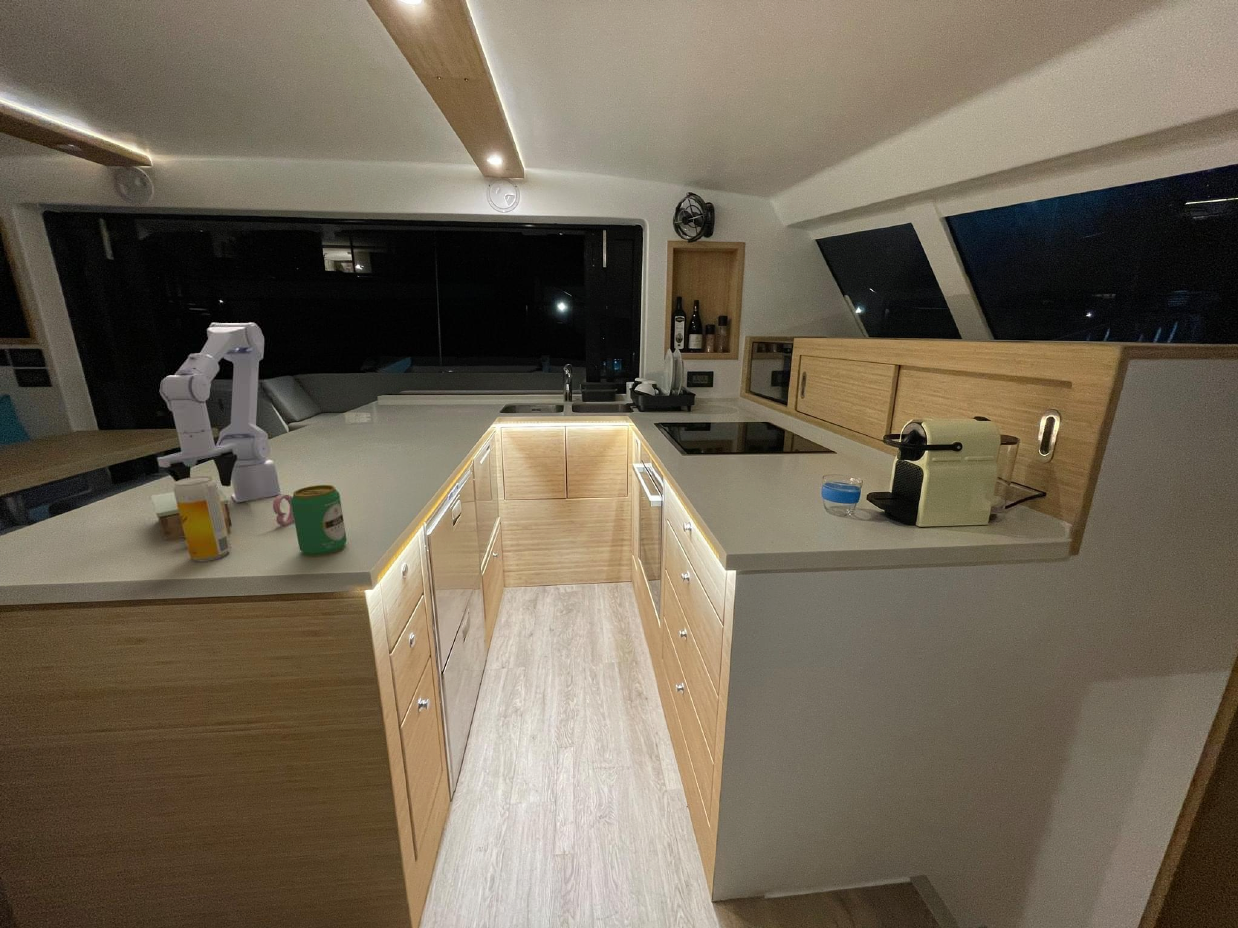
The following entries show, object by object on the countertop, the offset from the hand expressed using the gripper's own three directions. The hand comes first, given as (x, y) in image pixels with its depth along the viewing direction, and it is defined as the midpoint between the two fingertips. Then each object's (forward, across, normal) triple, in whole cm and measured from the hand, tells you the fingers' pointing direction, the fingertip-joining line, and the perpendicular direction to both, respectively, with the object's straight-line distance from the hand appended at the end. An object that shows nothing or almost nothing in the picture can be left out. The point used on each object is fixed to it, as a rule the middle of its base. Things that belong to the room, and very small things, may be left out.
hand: (208, 490), depth 112 cm
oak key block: (+7, +7, +11) cm, 14 cm away
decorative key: (+7, -11, +16) cm, 21 cm away
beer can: (+7, +13, +20) cm, 25 cm away
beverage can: (+7, +3, +38) cm, 39 cm away
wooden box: (+7, +3, -2) cm, 8 cm away
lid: (+2, +3, -1) cm, 4 cm away
